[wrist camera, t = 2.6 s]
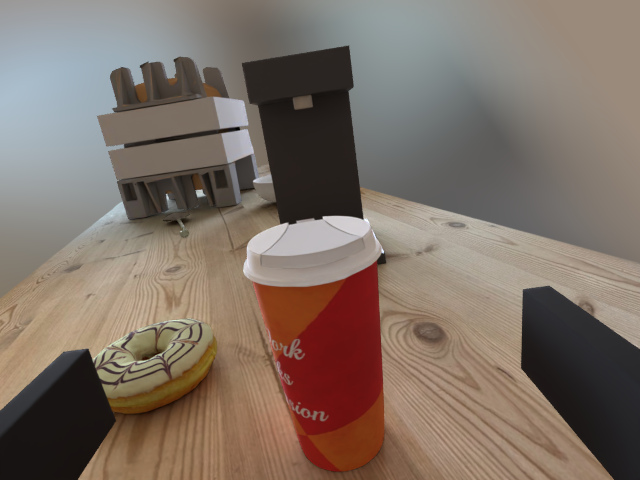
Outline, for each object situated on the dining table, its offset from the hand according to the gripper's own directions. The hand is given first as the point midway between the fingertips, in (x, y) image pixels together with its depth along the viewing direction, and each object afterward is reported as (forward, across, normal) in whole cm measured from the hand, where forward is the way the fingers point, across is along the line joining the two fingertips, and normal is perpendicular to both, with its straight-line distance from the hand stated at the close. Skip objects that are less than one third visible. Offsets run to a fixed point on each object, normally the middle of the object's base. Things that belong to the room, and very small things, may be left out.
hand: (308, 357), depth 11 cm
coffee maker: (+46, 0, -13) cm, 47 cm away
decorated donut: (+19, -16, -13) cm, 28 cm away
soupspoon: (+78, -34, -13) cm, 86 cm away
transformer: (+112, -39, -13) cm, 120 cm away
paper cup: (+10, 0, -13) cm, 16 cm away
